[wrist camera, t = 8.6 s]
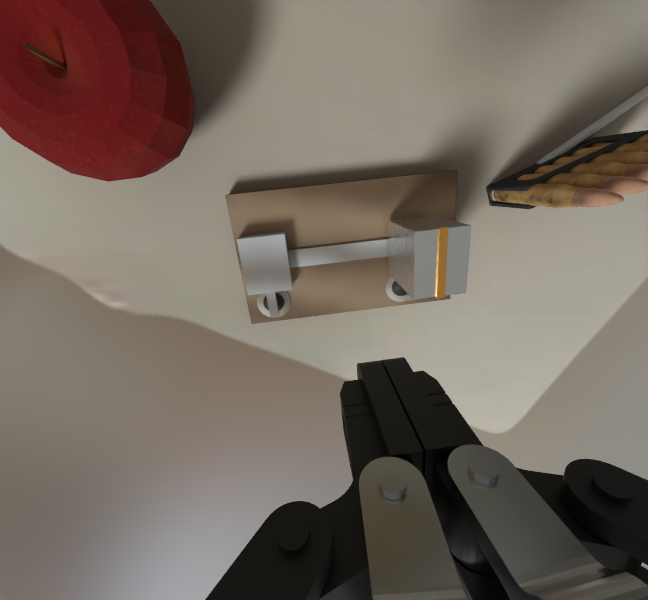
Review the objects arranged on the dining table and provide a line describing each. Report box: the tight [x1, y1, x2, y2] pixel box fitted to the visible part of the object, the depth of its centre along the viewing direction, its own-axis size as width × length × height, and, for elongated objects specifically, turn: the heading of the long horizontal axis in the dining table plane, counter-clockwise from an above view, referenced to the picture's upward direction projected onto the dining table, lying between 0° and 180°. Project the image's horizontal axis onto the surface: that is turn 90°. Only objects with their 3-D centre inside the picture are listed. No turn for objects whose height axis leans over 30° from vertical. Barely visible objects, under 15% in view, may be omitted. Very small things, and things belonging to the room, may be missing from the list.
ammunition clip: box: [486, 130, 648, 209], centre depth 23 cm, size 11×2×12 cm, turn 114°
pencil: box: [536, 85, 648, 166], centre depth 27 cm, size 1×1×15 cm
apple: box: [0, 0, 195, 181], centre depth 19 cm, size 11×11×12 cm
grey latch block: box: [388, 216, 471, 301], centre depth 25 cm, size 8×4×7 cm, turn 6°
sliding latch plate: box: [225, 170, 458, 324], centre depth 28 cm, size 12×20×3 cm, turn 96°
